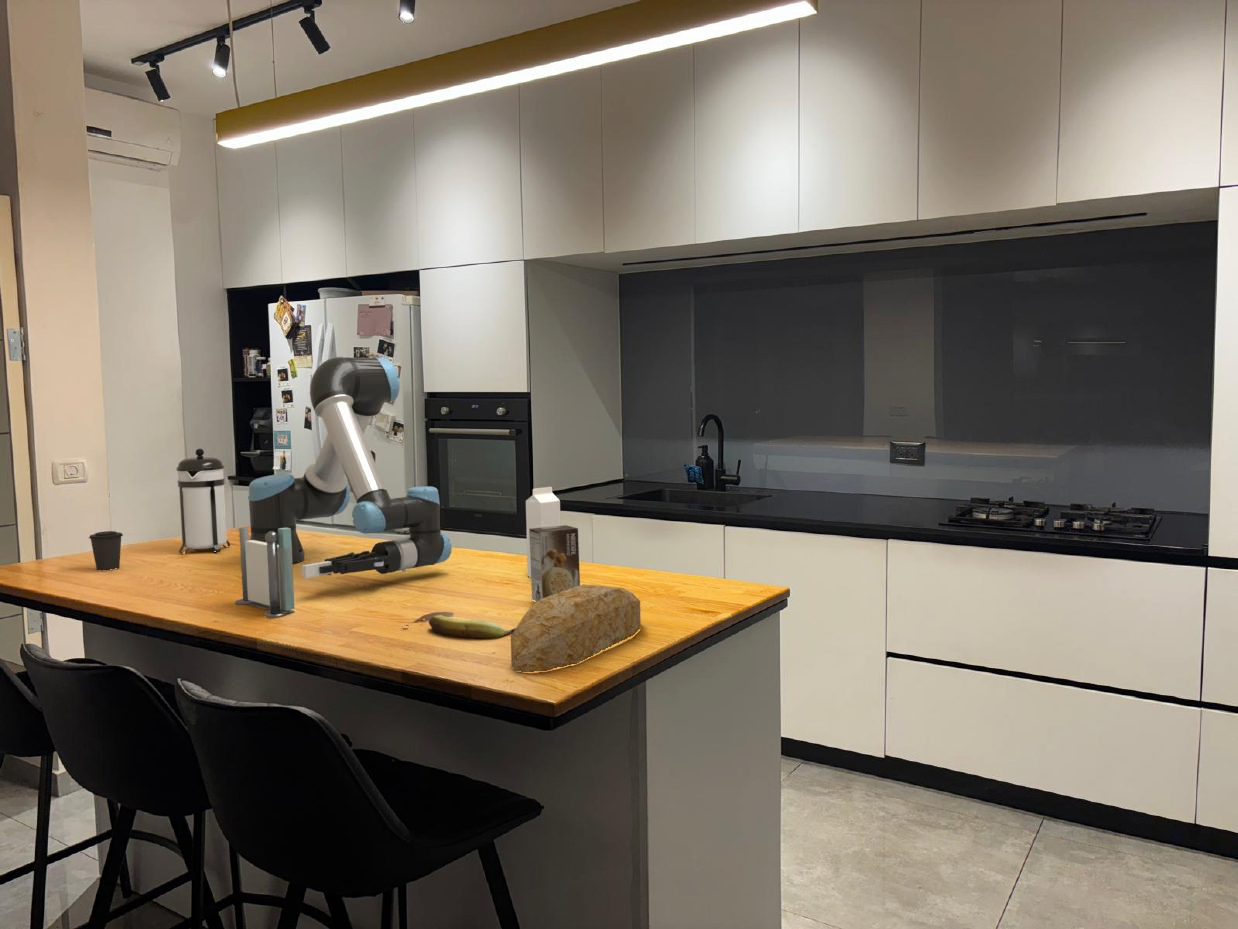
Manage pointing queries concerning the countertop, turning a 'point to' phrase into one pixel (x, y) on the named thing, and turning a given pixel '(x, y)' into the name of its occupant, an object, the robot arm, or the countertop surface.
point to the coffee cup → (106, 549)
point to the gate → (266, 569)
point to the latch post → (273, 575)
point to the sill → (258, 605)
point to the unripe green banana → (462, 627)
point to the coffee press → (202, 503)
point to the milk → (541, 514)
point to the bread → (573, 627)
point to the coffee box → (553, 560)
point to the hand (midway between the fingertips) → (304, 572)
